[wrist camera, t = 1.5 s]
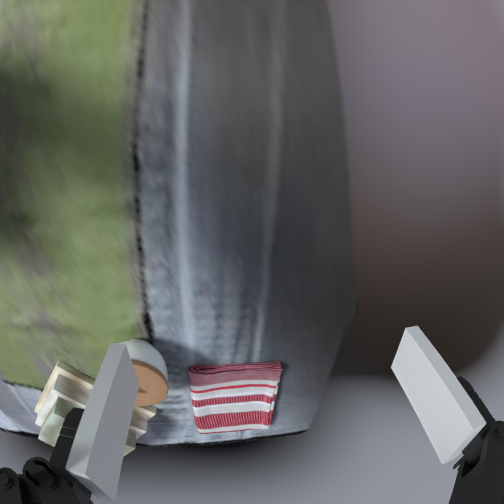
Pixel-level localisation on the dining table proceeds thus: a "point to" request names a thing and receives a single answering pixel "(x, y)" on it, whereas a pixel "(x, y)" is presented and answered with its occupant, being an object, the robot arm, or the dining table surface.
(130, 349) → the lidded jar
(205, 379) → the dish towel
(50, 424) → the brick tower
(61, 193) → the dining table surface
